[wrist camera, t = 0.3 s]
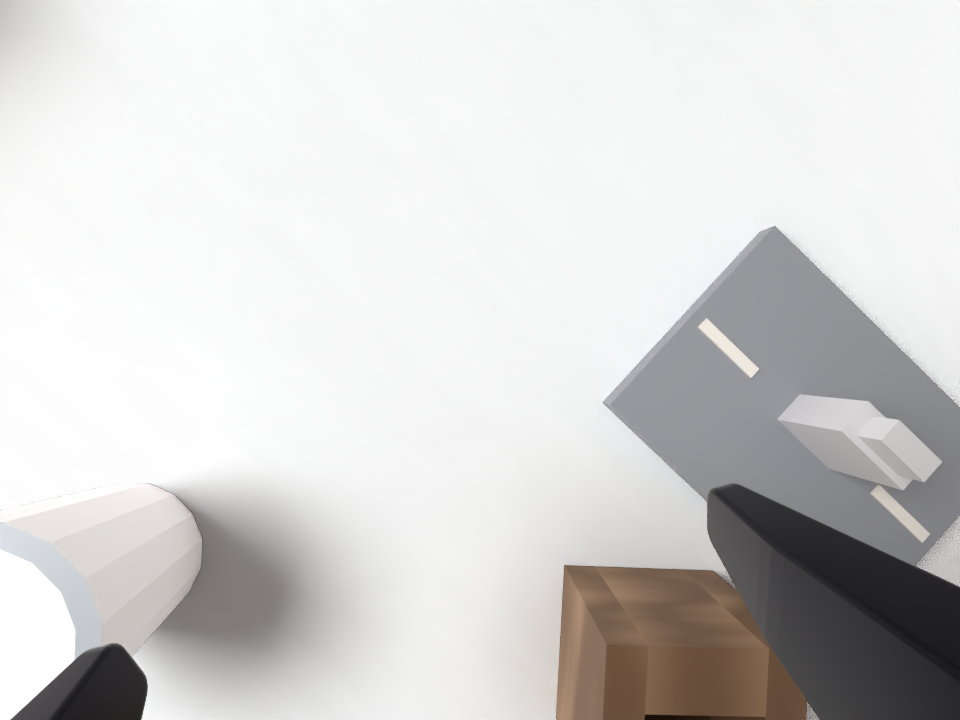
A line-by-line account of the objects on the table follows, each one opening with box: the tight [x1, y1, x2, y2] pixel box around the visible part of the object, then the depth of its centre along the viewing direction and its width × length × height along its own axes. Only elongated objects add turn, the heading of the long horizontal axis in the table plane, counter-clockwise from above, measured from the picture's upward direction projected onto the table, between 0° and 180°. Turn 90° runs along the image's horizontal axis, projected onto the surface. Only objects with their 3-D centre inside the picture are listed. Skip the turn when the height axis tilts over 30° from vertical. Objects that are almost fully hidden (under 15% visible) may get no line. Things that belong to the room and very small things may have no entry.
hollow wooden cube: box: [556, 565, 807, 720], centre depth 19 cm, size 6×6×6 cm
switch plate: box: [603, 226, 960, 566], centre depth 19 cm, size 14×10×6 cm
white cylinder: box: [0, 483, 202, 720], centre depth 17 cm, size 7×7×7 cm
